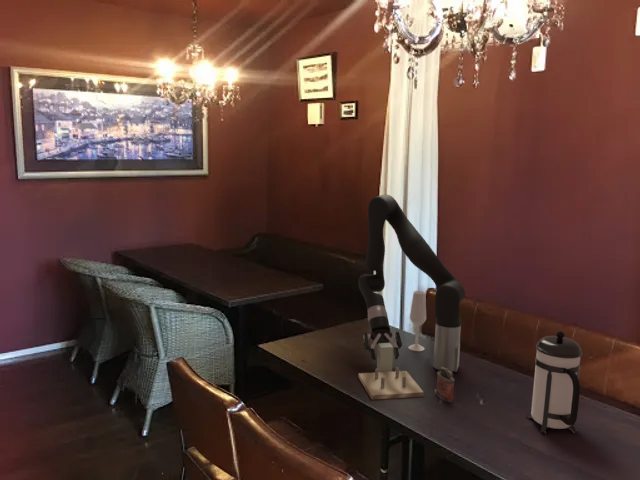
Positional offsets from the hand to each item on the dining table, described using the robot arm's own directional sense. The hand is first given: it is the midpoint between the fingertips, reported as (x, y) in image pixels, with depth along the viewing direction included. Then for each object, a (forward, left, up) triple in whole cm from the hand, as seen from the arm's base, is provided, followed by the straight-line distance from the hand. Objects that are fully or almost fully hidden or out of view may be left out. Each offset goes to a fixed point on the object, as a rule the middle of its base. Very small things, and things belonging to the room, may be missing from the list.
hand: (385, 359), depth 209 cm
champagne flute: (-7, -29, -5) cm, 30 cm away
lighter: (-24, +13, -5) cm, 27 cm away
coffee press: (-58, +21, -5) cm, 61 cm away
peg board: (-5, +12, -5) cm, 14 cm away
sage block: (0, -1, -5) cm, 5 cm away
